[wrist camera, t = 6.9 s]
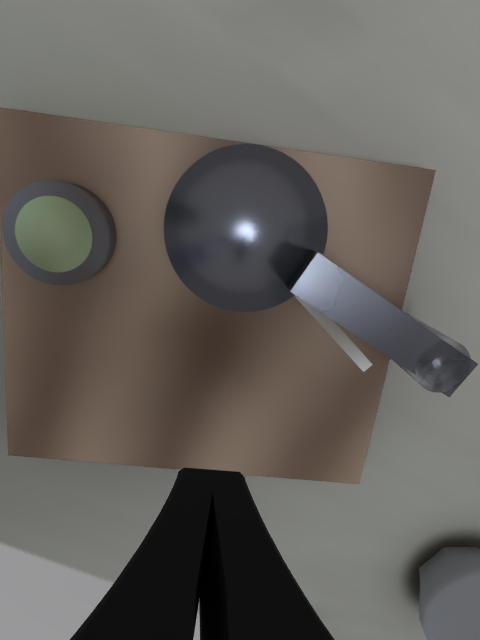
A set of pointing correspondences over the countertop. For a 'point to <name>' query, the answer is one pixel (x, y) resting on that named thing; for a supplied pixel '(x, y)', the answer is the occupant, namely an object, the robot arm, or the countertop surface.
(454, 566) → the salt shaker
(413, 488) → the countertop surface
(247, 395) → the tribrach board
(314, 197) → the knob
